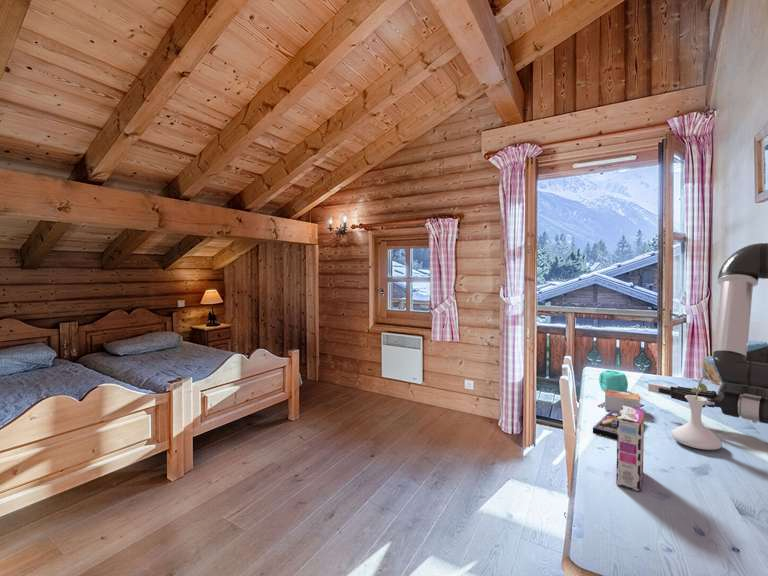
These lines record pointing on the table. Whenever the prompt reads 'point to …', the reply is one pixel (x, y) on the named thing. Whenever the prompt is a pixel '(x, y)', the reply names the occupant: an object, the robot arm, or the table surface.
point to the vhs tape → (607, 425)
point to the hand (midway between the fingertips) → (649, 386)
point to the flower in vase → (698, 417)
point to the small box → (620, 400)
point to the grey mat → (604, 405)
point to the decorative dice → (613, 381)
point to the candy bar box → (630, 447)
